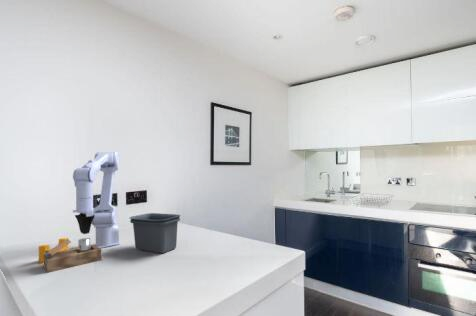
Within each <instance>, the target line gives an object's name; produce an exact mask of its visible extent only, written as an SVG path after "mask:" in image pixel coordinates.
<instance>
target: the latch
mask: <svg viewBox="0 0 476 316" xmlns="http://www.w3.org/2000/svg"><path fill="white" fill-rule="evenodd" d="M70 244H72V241H71V240H70V239H69V238H68V239H66V240H65V241H63V242H62V243H60V244H59V245H58V244H57V245H55V246H54V247H52V248H53V249H52V248H50V251H48V252H46V253H45V255H46V257H47V254H51V256H52V255H54V254H55V253H57V252H58V251H60V250H61V249H62V248H64V247H65V246H67V245H68V246H69V245H70Z"/></svg>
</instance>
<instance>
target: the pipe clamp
mask: <svg viewBox="0 0 476 316" xmlns="http://www.w3.org/2000/svg"><path fill="white" fill-rule="evenodd" d="M66 239H69V238H68V237H61V238H59V239H58V242H57V245H59V244H60V243H62V242H63V241H65V240H66ZM53 248H54V247H52V248H50V244H41V245H39V246H38V263H39V264H44V254H45V251H48V250H49V251H50V250H51V249H53ZM64 250H69V244H68V245H67V246H65V247H64V248H62V249H61V250H60V251H64ZM58 252H59V251H58Z"/></svg>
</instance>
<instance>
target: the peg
mask: <svg viewBox="0 0 476 316" xmlns="http://www.w3.org/2000/svg"><path fill="white" fill-rule="evenodd" d="M77 242H78V243H77V244H78V245H77V246H78V247H77V248H78V253H80V252H85V251H90V245H91V238H90V237H84V238H79V239H78V241H77Z"/></svg>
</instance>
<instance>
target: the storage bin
mask: <svg viewBox="0 0 476 316" xmlns="http://www.w3.org/2000/svg"><path fill="white" fill-rule="evenodd" d="M181 216H182V215H181V214H176V213H175V214H173V213H157V212H156V213H155V212H152V213H151V212H149V213H144V214H139V215H133V216H129V219H130V220H129V223H130V224H132V227H133V236H134V246H135V249H136V250H140V251H145V252H146V251H147V252H153V253H158V254H164V253H167V252H170V251H171V250H174V249H176V248H177V238H178V236H177V235H178V222H181Z"/></svg>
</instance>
